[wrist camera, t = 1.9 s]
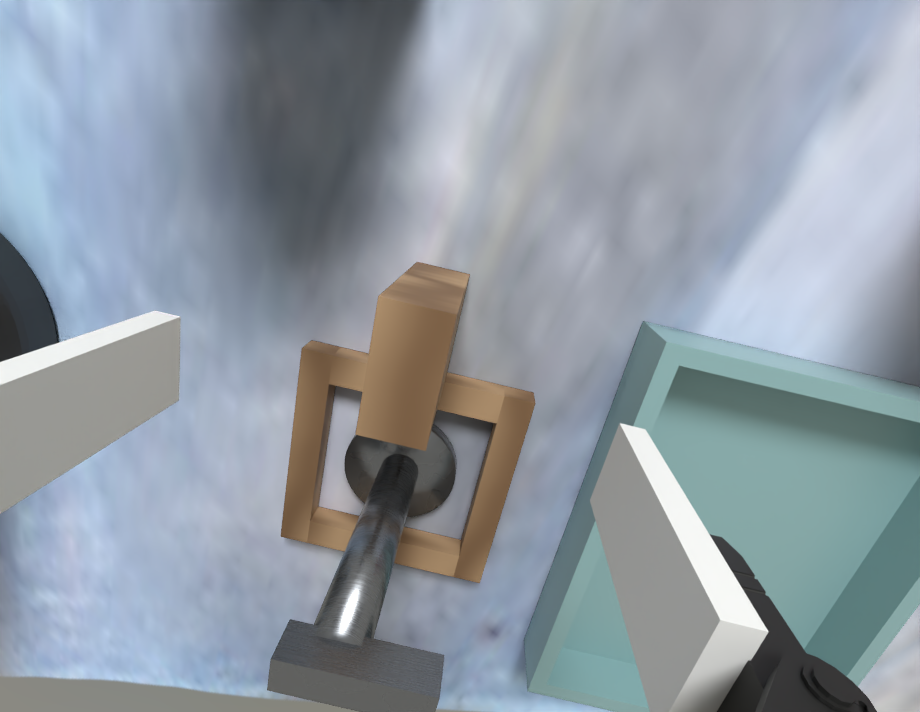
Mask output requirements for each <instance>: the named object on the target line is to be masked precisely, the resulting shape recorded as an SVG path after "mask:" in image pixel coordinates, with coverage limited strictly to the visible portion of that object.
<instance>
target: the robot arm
mask: <svg viewBox="0 0 920 712" xmlns="http://www.w3.org/2000/svg"><path fill="white" fill-rule="evenodd" d="M179 370H180V316H176V315H171V314H167V313H163V312H159V311H152V312H149V313H146V314H143V315H140V316H137V317H134V318H131V319H128V320H125V321H122V322H119V323H116V324H113V325H110V326H107V327H104V328H101V329H98V330H95V331H92V332H89V333H86V334H83V335H80V336H77V337H74V338H71V339H68V340H65V341H62V342H59V343H57V337H56V330H55V325H54V320H53V316H52V313H51V310H50V307H49V304H48V302H47V299H46V297H45V294H44V292H43V290H42V288H41V286H40V284H39V282H38V281H37V279H36V277H35V275H34V274H33V272H32V271H31V269H30V267H29V266H28V265H27V263H26V262H25V260H24V259H23V258H22V256H21V255H20V254H19V253H18V251H17V250H16V249H15V248H14V247H13V246H12V244H11V243H10V242H9V241H8V240H7V239H6V238H5V237H4V236H3V235H2V234H1V233H0V514H1V513H2V512H4V511H6V510H7V509H9V508H10V507H12V506H13V505H15V504H17V503H18V502H20V501H21V500H23V499H25V498H26V497H28V496H29V495H31V494H32V493H34V492H36V491H37V490H39V489H40V488H42V487H43V486H45V485H47V484H48V483H50V482H51V481H53V480H54V479H56V478H58V477H59V476H61V475H62V474H64V473H65V472H67V471H69V470H70V469H72V468H73V467H75V466H76V465H78V464H80V463H81V462H83V461H84V460H86V459H87V458H89V457H91V456H92V455H94V454H95V453H97V452H98V451H100V450H102V449H103V448H105V447H106V446H108V445H109V444H111V443H113V442H114V441H116V440H117V439H119V438H121V437H122V436H124V435H125V434H127V433H128V432H130V431H132V430H133V429H135V428H136V427H138V426H139V425H141V424H143V423H144V422H146V421H147V420H149V419H150V418H152V417H154V416H155V415H157V414H158V413H160V412H161V411H163V410H165V409H166V408H168V407H169V406H171V405H172V404H174V403H176V402H177V401H179ZM590 503H591V506H592V510H593V513H594V517H595V520H596V524H597V527H598V531H599V534H600V538H601V541H602V545H603V548H604V552H605V555H606V559H607V563H608V566H609V570H610V573H611V577H612V580H613V584H614V587H615V591H616V594H617V598H618V601H619V605H620V608H621V612H622V615H623V619H624V622H625V626H626V629H627V633H628V636H629V640H630V643H631V647H632V650H633V654H634V657H635V661H636V664H637V668H638V671H639V675H640V678H641V682H642V685H643V689H644V692H645V696H646V699H647V703H648V706H649V710H650V712H877V711H876V709H875V708H874V706H873V705H872V703H871V702H870V700H869V698H868V697H867V696H866V695H865V694H864V693H863V692H862V691H861V690H860V689H859V688H858V687H857V686H856V685H855V683H854V682H853V681H851V680H850V679H849V678H848V677H846V676H845V675H844V674H843V673H841V672H840V671H839V670H838V669H836V668H835V667H833V666H832V665H830V664H828V663H826V662H825V661H823V660H821V659H819V658H818V657H816V656H813V655H810V654H807V653H806V652H805V650H804V649H803V647H802V646H801V644H800V643H799V641H798V640H797V638H796V637H795V635H794V634H793V632H792V631H791V629H790V628H789V626H788V625H787V623H786V622H785V620H784V619H783V617H782V616H781V614H780V613H779V611H778V610H777V608H776V607H775V605H774V603H773V602H772V600H771V599H770V597H769V596H766V594H765V593H766V591H765V590H764V588H763V587H762V585H761V584H760V582H759V581H758V579H755V575H754V573H753V572H752V570H751V569H750V567H749V566H748V564H747V563H746V561H745V560H744V558H743V557H742V555H740V554H739V553H738V552H737V551H736V550H735V549H734V548H733V547H732V546H731V545H730V544H729V543H728V542H727V541H726V540H725V539H723V538H722V537H719V536H715V535H711V534H709V533H708V531H707V530H706V528H705V526H704V525H703V523H702V521H701V520H700V518H699V517H698V515H697V513H696V512H695V510H694V508H693V507H692V505H691V503H690V502H689V500H688V498H687V497H686V495H685V494H684V492H683V490H682V489H681V487H680V485H679V484H678V482H677V480H676V479H675V477H674V475H673V474H672V472H671V471H670V469H669V467H668V466H667V464H666V462H665V461H664V459H663V457H662V456H661V454H660V452H659V451H658V449H657V447H656V446H655V444H654V443H653V441H652V439H651V438H650V436H649V434H648V433H647V431H646V429H642V428H638V427H634V426H630V425H626V424H621V423H619V426H618V429H617V431H616V434H615V436H614V439H613V442H612V444H611V447H610V449H609V452H608V455H607V457H606V460H605V462H604V465H603V468H602V470H601V473H600V475H599V478H598V481H597V483H596V486H595V488H594V491H593V494H592V496H591V499H590Z"/></svg>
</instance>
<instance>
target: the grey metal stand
mask: <svg viewBox="0 0 920 712" xmlns="http://www.w3.org/2000/svg"><path fill="white" fill-rule="evenodd" d="M345 473H346V477H347V480H348V482H349V484H350V486H351V488H352V490H353V491H354V493H355V494H356V495H357V496H358V497H359V498H360V499H361V500H362V501H363V502H364V503H365V504H364V507H363V509H362V512H361V514H360V516H359V519H358V521H357V523H356V526H355V528H354V531H353V533H352V535H351V538H350V540H349V542H348V545H347V547H346V550H345V552H344V554H343V557H342V559H341V561H340V564H339V566H338V569H337V571H336V573H335V576H334V578H333V580H332V583H331V585H330V588H329V590H328V592H327V595H326V597H325V599H324V602H323V604H322V607H321V609H320V611H319V614H318V616H317V618H316V621H315V623H314V625H312V624H308V623H304V622H300V621H295V620H291V619H290V620H289V622H288V624H287V627H286V629H285V631H284V633H283V635H282V637H281V639H280V641H279V643H278V645H277V647H276V649H275V651H274V653H273V656H272V658H271V661H270V670H269V679H268V687H267V690H269V691H273V692H277V693H282V694H286V695H290V696H295V697H299V698H303V699H307V700H312V701H316V702H320V703H325V704H329V705H333V706H338V707H342V708H346V709H351V710H355V711H359V712H435V711H436V708H437V705H438V701H439V698H440V689H441V680H442V671H443V662H444V655H441V654H437V653H433V652H428V651H424V650H420V649H415V648H411V647H407V646H403V645H398V644H394V643H390V642H385V641H381V640H377V639H373V637H374V634H375V630H376V626H377V623H378V619H379V616H380V612H381V608H382V605H383V601H384V597H385V594H386V590H387V587H388V583H389V579H390V576H391V572H392V568H393V565H394V561H395V557H396V554H397V550H398V547H399V543H400V539H401V536H402V532H403V528H404V525H405V521H406V518H407V517H413V516H418V515H422V514H425V513H428V512H430V511H432V510H434V509H435V508H437V507H438V506H439V505H441V504H442V503H443V502H444V501H445V500H446V498H447V497H448V495H449V494H450V492H451V490H452V488H453V485H454V480H455V474H456V455H455V452H454V449H453V446H452V444H451V442H450V441H449V439H448V438H447V436H446V435H445V434H444V433H443V432H442V431H441V430H440V429H439V428H438V427H437V426H435V425H434V424H433V426H432V430H431V434H430V437H429V441H428V445H427V448H426V451H423V450H419V449H415V448H411V447H406V446H402V445H398V444H394V443H389V442H385V441H381V440H377V439H372V438H368V437H364V436H360V435H355V436H354V438H353V440H352V442H351V443H350V445H349V447H348V450H347V452H346V456H345Z"/></svg>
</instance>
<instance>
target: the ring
mask: <svg viewBox="0 0 920 712" xmlns="http://www.w3.org/2000/svg"><path fill="white" fill-rule="evenodd" d="M469 276H470V274H466V273H462V272H458V271H453V270H449V269H445V268H441V267H436V266H432V265H428V264H424V263H420V262H416V263H415V264H414V265H413V266H412V267H411V268H410V269H408V270H407V271H406V272H405V273H404V274H403V275H402V276H401V277H399V278H398V279H397V280H396V281H395V282H394V283H393V284H392V285H390V286H389V287H388V288H387V289H386V290H385V291H384V292H383V293H381V294H380V295H379V296H378V302H377V308H376V314H375V320H374V326H373V332H372V338H371V344H370V350H369V354H368V353H363V352H359V351H355V350H351V349H347V348H342V347H338V346H334V345H330V344H325V343H321V342H317V341H313V340H311V341H310V342H309V343H308V344H306V345H305V346H304V347H303V348H302V351H301V360H300V369H299V378H298V387H297V396H296V405H295V413H294V422H293V431H292V440H291V449H290V458H289V467H288V476H287V485H286V493H285V502H284V511H283V520H282V529H281V537H285V538H289V539H293V540H298V541H302V542H306V543H311V544H315V545H319V546H323V547H328V548H332V549H336V550H341V551H345V550H346V547H347V545H348V542H349V540H350V538H351V535H352V533H353V531H354V528H355V526H356V523H357V521H358V519H359V516H356V515H352V514H348V513H344V512H339V511H335V510H331V509H327V508H322V507H318V505H319V498H320V491H321V484H322V477H323V470H324V463H325V456H326V449H327V442H328V435H329V428H330V421H331V414H332V407H333V400H334V393H335V386H340V387H344V388H348V389H352V390H357V391H361V392H362V398H361V404H360V410H359V416H358V422H357V428H356V434H355V435H360V436H364V437H368V438H372V439H377V440H381V441H385V442H389V443H394V444H398V445H402V446H406V447H411V448H415V449H419V450H423V451H426V448H427V445H428V441H429V437H430V434H431V430H432V426H433V423H434V419H435V415H436V411H437V410H441V411H446V412H450V413H454V414H458V415H463V416H467V417H471V418H475V419H480V420H484V421H488V422H492V423H494V424H493V427H492V431H491V434H490V438H489V441H488V445H487V449H486V452H485V456H484V459H483V463H482V466H481V470H480V474H479V477H478V481H477V484H476V488H475V491H474V495H473V499H472V502H471V506H470V509H469V513H468V516H467V520H466V523H465V527H464V531H463V534H462V538H461V540H459V539H455V538H450V537H446V536H442V535H437V534H433V533H429V532H425V531H420V530H416V529H412V528H408V527H404V528H403V532H402V536H401V539H400V543H399V547H398V550H397V554H396V557H395V561H394V563H396V564H400V565H405V566H409V567H413V568H417V569H422V570H426V571H430V572H435V573H439V574H443V575H447V576H452V577H456V578H460V579H464V580H469V581H473V582H477V583H480V580H481V577H482V574H483V571H484V567H485V564H486V561H487V558H488V554H489V551H490V548H491V545H492V542H493V538H494V535H495V532H496V529H497V525H498V522H499V519H500V516H501V513H502V509H503V506H504V503H505V500H506V496H507V493H508V490H509V487H510V484H511V480H512V477H513V474H514V471H515V467H516V464H517V461H518V458H519V455H520V451H521V448H522V445H523V442H524V438H525V435H526V432H527V429H528V426H529V422H530V419H531V416H532V413H533V409H534V406H535V399H534V393H533V392H528V391H524V390H520V389H516V388H512V387H507V386H503V385H499V384H495V383H490V382H486V381H482V380H478V379H473V378H469V377H465V376H461V375H457V374H452V373H448V372H447V371H448V366H449V362H450V358H451V353H452V349H453V345H454V341H455V336H456V332H457V328H458V323H459V319H460V315H461V310H462V306H463V302H464V297H465V293H466V289H467V284H468V280H469Z"/></svg>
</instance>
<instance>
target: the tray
mask: <svg viewBox="0 0 920 712" xmlns="http://www.w3.org/2000/svg"><path fill="white" fill-rule="evenodd" d="M619 423H621V424H626V425H630V426H634V427H638V428H642V429H646V431H647V433H648V434H649V436H650V438H651V439H652V441H653V443H654V444H655V446H656V447H657V449H658V451H659V452H660V454H661V456H662V457H663V459H664V461H665V462H666V464H667V466H668V467H669V469H670V471H671V472H672V474H673V475H674V477H675V479H676V480H677V482H678V484H679V485H680V487H681V489H682V490H683V492H684V494H685V495H686V497H687V498H688V500H689V502H690V503H691V505H692V507H693V508H694V510H695V512H696V513H697V515H698V517H699V518H700V520H701V521H702V523H703V525H704V526H705V528H706V530H707V531H708V533H709V534H711V535H715V536H719V537H722V538H723V539H725V540H726V541H727V542H728V543H729V544H730V545H731V546H732V547H733V548H734V549H735V550H736V551H737V552H738V553H739V554H740V555H742V557H743V558H744V560H745V561H746V563H747V564H748V566H749V567H750V569H751V570H752V572H753V573H754V575H755V579H758V581H759V582H760V584H761V585H762V587H763V588H764V590H765V591H766V593H765V594H766V596H769V597H770V599H771V600H772V602H773V603H774V605H775V607H776V608H777V610H778V611H779V613H780V614H781V616H782V617H783V619H784V620H785V622H786V623H787V625H788V626H789V628H790V629H791V631H792V632H793V634H794V635H795V637H796V638H797V640H798V641H799V643H800V644H801V646H802V647H803V649H804V650H805V652H806V653H807V654H810V655H813V656H816V657H818V658H819V659H821V660H823V661H825V662H826V663H828V664H830V665H832V666H833V667H835V668H836V669H838V670H839V671H840V672H841V673H843V674H844V675H845V676H846V677H848V678H849V679H850V680H851V681H853V682H854V683H855V685H856V686H857V687H858V686H859V684H860V683H861V682H862V680H863V679H864V678H865V676H866V675H867V674H868V672H869V671H870V670H871V668H872V667H873V666H874V664H875V663H876V662H877V660H878V659H879V658H880V656H881V655H882V654H883V652H884V651H885V650H886V648H887V647H888V646H889V644H890V643H891V642H892V640H893V639H894V638H895V636H896V635H897V634H898V632H899V631H900V630H901V628H902V627H903V626H904V624H905V623H906V622H907V620H908V619H909V618H910V616H911V615H912V614H913V612H914V611H915V610H916V608H917V607H918V606H919V604H920V387H918V386H914V385H910V384H905V383H901V382H897V381H893V380H889V379H884V378H880V377H876V376H872V375H868V374H863V373H859V372H855V371H851V370H846V369H842V368H838V367H834V366H830V365H825V364H821V363H817V362H813V361H809V360H804V359H800V358H796V357H792V356H788V355H783V354H779V353H775V352H771V351H767V350H762V349H758V348H754V347H750V346H745V345H741V344H737V343H733V342H729V341H724V340H720V339H716V338H712V337H708V336H703V335H699V334H695V333H691V332H687V331H682V330H678V329H674V328H670V327H666V326H661V325H657V324H653V323H649V322H644V321H643V323H642V326H641V329H640V331H639V334H638V337H637V339H636V342H635V345H634V347H633V350H632V353H631V355H630V358H629V361H628V363H627V366H626V369H625V371H624V374H623V377H622V379H621V382H620V385H619V387H618V390H617V393H616V395H615V398H614V401H613V403H612V406H611V409H610V411H609V414H608V417H607V419H606V422H605V425H604V428H603V430H602V433H601V436H600V438H599V441H598V444H597V446H596V449H595V452H594V454H593V457H592V460H591V462H590V465H589V468H588V470H587V473H586V476H585V478H584V481H583V484H582V486H581V489H580V492H579V494H578V497H577V500H576V502H575V505H574V508H573V510H572V513H571V516H570V518H569V521H568V524H567V526H566V529H565V532H564V534H563V537H562V540H561V542H560V545H559V548H558V550H557V553H556V556H555V559H554V561H553V564H552V567H551V569H550V572H549V575H548V577H547V580H546V583H545V585H544V588H543V591H542V593H541V596H540V599H539V601H538V604H537V607H536V609H535V612H534V615H533V617H532V620H531V623H530V625H529V628H528V631H527V633H526V636H525V639H524V644H525V660H526V676H527V691H529V692H533V693H537V694H542V695H546V696H550V697H555V698H559V699H563V700H567V701H572V702H576V703H580V704H585V705H589V706H593V707H597V708H602V709H606V710H610V711H615V712H650V710H649V706H648V703H647V699H646V696H645V692H644V689H643V685H642V682H641V678H640V675H639V671H638V668H637V664H636V661H635V657H634V654H633V650H632V647H631V643H630V640H629V636H628V633H627V629H626V626H625V622H624V619H623V615H622V612H621V608H620V605H619V601H618V598H617V594H616V591H615V587H614V584H613V580H612V577H611V573H610V570H609V566H608V563H607V559H606V555H605V552H604V548H603V545H602V541H601V538H600V534H599V531H598V527H597V524H596V520H595V517H594V513H593V510H592V506H591V503H590V499H591V496H592V494H593V491H594V488H595V486H596V483H597V481H598V478H599V475H600V473H601V470H602V468H603V465H604V462H605V460H606V457H607V455H608V452H609V449H610V447H611V444H612V442H613V439H614V436H615V434H616V431H617V429H618V426H619Z"/></svg>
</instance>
